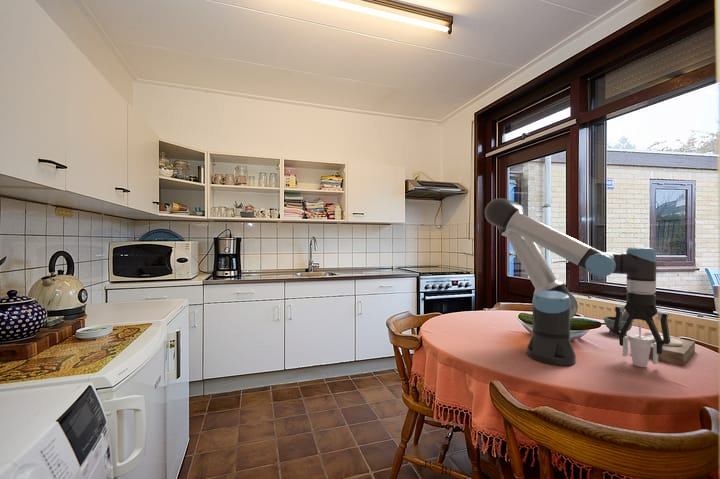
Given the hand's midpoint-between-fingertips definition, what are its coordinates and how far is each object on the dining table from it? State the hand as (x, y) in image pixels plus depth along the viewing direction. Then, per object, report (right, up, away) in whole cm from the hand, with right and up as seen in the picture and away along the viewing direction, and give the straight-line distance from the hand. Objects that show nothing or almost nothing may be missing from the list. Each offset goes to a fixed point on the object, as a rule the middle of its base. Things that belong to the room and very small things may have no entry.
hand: (639, 359), depth 108 cm
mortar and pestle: (+22, -2, +35) cm, 41 cm away
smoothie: (0, -2, 0) cm, 2 cm away
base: (+20, -2, +12) cm, 23 cm away
